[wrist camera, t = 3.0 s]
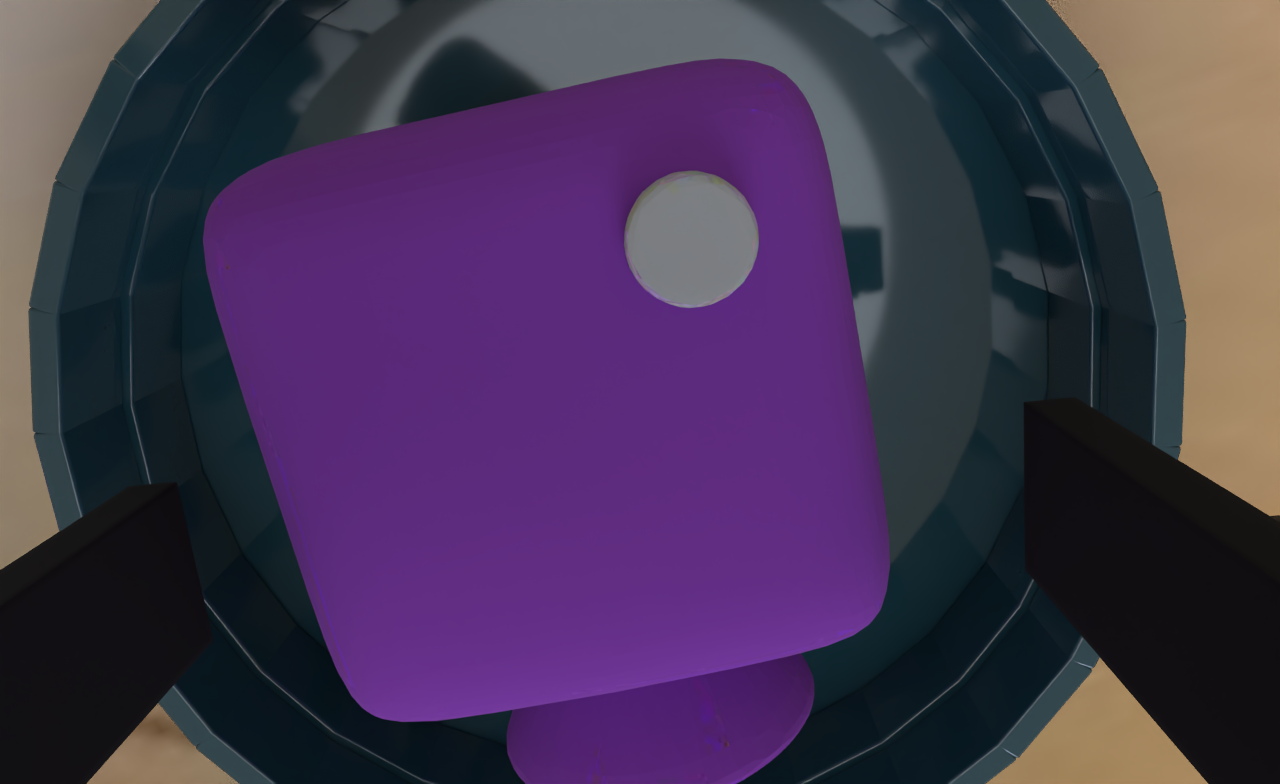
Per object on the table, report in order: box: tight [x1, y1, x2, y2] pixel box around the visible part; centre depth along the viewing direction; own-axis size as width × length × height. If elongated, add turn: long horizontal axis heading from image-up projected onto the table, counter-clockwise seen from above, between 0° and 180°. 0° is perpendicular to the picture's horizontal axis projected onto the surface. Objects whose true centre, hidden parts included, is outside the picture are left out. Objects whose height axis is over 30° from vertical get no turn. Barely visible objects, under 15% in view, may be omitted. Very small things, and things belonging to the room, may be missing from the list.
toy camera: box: [203, 59, 890, 784], centre depth 19 cm, size 11×14×10 cm
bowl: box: [28, 0, 1186, 784], centre depth 21 cm, size 22×22×5 cm
